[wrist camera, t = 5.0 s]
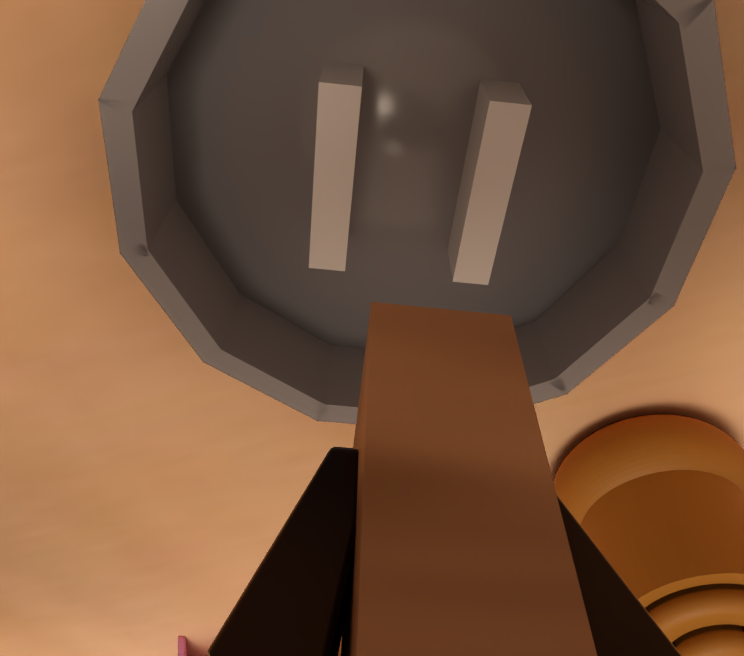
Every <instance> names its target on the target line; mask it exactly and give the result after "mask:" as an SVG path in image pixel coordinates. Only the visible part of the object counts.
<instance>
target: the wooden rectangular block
mask: <svg viewBox="0 0 744 656" xmlns="http://www.w3.org/2000/svg"><path fill="white" fill-rule="evenodd" d="M353 448H355V449H358V450H359V455H358V484H357V512H356V536H355V547H354V554H353V561H352V568H351V575H350V582H349V589H348V596H347V603H346V610H345V617H344V624H343V631H342V637H341V642H340V647H339V656H597V653H596V649H595V645H594V641H593V637H592V633H591V629H590V625H589V621H588V617H587V613H586V609H585V605H584V601H583V597H582V594H581V590H580V586H579V582H578V578H577V574H576V570H575V566H574V562H573V558H572V554H571V550H570V546H569V542H568V538H567V534H566V530H565V527H564V523H563V519H562V515H561V511H560V507H559V503H558V499H557V495H556V491H555V487H554V483H553V479H552V475H551V471H550V467H549V463H548V460H547V456H546V452H545V448H544V444H543V440H542V436H541V432H540V428H539V424H538V420H537V416H536V412H535V408H534V404H533V400H532V397H531V393H530V389H529V385H528V381H527V377H526V373H525V369H524V365H523V361H522V357H521V353H520V349H519V345H518V341H517V337H516V333H515V330H514V326H513V322H512V318H511V315H501V314H491V313H481V312H470V311H460V310H450V309H439V308H429V307H419V306H409V305H398V304H388V303H378V302H371V308H370V316H369V324H368V332H367V340H366V348H365V356H364V365H363V373H362V381H361V389H360V397H359V405H358V413H357V421H356V429H355V438H354V446H353Z"/></svg>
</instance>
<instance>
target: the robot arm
mask: <svg viewBox="0 0 744 656" xmlns="http://www.w3.org/2000/svg"><path fill="white" fill-rule="evenodd" d="M358 455H359V450H358V449H355V448H344V447H333V448H331V449H330V450H329V452H328V453H327V455H326V457H325V458H324V460H323V462H322V463H321V465H320V467H319V468H318V470H317V472H316V473H315V475H314V476H313V478H312V480H311V481H310V483H309V485H308V486H307V488H306V490H305V491H304V493H303V495H302V496H301V498H300V500H299V501H298V503H297V504H296V506H295V508H294V509H293V511H292V513H291V514H290V516H289V518H288V519H287V521H286V523H285V524H284V526H283V528H282V529H281V531H280V532H279V534H278V536H277V537H276V539H275V541H274V542H273V544H272V546H271V547H270V549H269V551H268V552H267V554H266V556H265V557H264V559H263V561H262V562H261V564H260V565H259V567H258V569H257V570H256V572H255V574H254V575H253V577H252V579H251V580H250V582H249V584H248V585H247V587H246V589H245V590H244V592H243V593H242V595H241V597H240V598H239V600H238V602H237V603H236V605H235V607H234V608H233V610H232V612H231V613H230V615H229V617H228V618H227V620H226V622H225V623H224V625H223V626H222V628H221V630H220V631H219V633H218V635H217V636H216V638H215V640H214V641H213V643H212V645H211V646H210V648H209V650H208V656H338V652H339V647H340V642H341V637H342V631H343V624H344V617H345V610H346V603H347V596H348V589H349V582H350V575H351V568H352V561H353V554H354V547H355V536H356V512H357V484H358ZM556 495H557V494H556ZM557 499H558V503H559V507H560V511H561V515H562V519H563V523H564V527H565V530H566V534H567V538H568V542H569V546H570V550H571V554H572V558H573V562H574V566H575V570H576V574H577V578H578V582H579V586H580V590H581V594H582V597H583V601H584V605H585V609H586V613H587V617H588V621H589V625H590V629H591V633H592V637H593V641H594V645H595V649H596V653H597V656H681V654H680V653H679V652H678V650H677V649H676V648H675V647H674V645H673V644H672V643H671V641H670V640H669V639H668V638H667V636H666V635H665V634H664V632H663V631H662V630H661V628H660V627H659V626H658V625H657V623H656V622H655V621H654V619H653V618H652V617H651V616H650V614H649V613H648V612H647V610H646V609H645V608H644V607H643V605H642V604H641V603H640V601H639V600H638V599H637V598H636V596H635V595H634V594H633V592H632V591H631V590H630V589H629V587H628V586H627V585H626V583H625V582H624V581H623V580H622V578H621V577H620V576H619V574H618V573H617V572H616V570H615V569H614V568H613V567H612V565H611V564H610V563H609V561H608V560H607V559H606V558H605V556H604V555H603V554H602V552H601V551H600V550H599V549H598V547H597V546H596V545H595V543H594V542H593V541H592V540H591V538H590V537H589V536H588V534H587V533H586V532H585V531H584V529H583V528H582V527H581V525H580V524H579V523H578V521H577V520H576V519H575V518H574V516H573V515H572V514H571V512H570V511H569V510H568V509H567V507H566V506H565V505H564V503H563V502H562V501H561V500H560V498H559V497H558V496H557Z"/></svg>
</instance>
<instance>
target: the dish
mask: <svg viewBox="0 0 744 656" xmlns="http://www.w3.org/2000/svg"><path fill="white" fill-rule="evenodd" d="M98 101H99V106H100V113H101V120H102V127H103V134H104V142H105V149H106V156H107V163H108V170H109V177H110V185H111V192H112V199H113V206H114V213H115V220H116V227H117V235H118V242H119V249H120V254H121V255H122V256H123V258H124V259H125V260H126V262H127V263H128V264H129V265H130V267H131V268H132V269H133V271H134V272H135V273H136V275H137V276H138V277H139V279H140V280H141V281H142V282H143V284H144V285H145V286H146V288H147V289H148V290H149V292H150V293H151V294H152V296H153V297H154V298H155V300H156V301H157V302H158V303H159V305H160V306H161V307H162V309H163V310H164V311H165V313H166V314H167V315H168V317H169V318H170V319H171V320H172V322H173V323H174V324H175V326H176V327H177V328H178V330H179V331H180V332H181V334H182V335H183V336H184V337H185V339H186V340H187V341H188V343H189V344H190V345H191V347H192V348H193V349H194V351H195V352H196V353H197V355H198V356H199V357H200V358H201V360H202V361H203V362H204V363H206V364H208V365H210V366H212V367H214V368H216V369H218V370H220V371H222V372H223V373H225V374H227V375H229V376H231V377H233V378H235V379H237V380H239V381H241V382H243V383H245V384H247V385H249V386H251V387H253V388H254V389H256V390H258V391H260V392H262V393H264V394H266V395H268V396H270V397H272V398H274V399H276V400H278V401H280V402H282V403H283V404H285V405H287V406H289V407H291V408H293V409H295V410H297V411H299V412H301V413H303V414H305V415H307V416H309V417H311V418H312V419H314V420H316V421H324V422H336V423H348V424H356V421H357V413H358V405H359V397H360V389H361V381H362V373H363V365H364V356H365V348H366V340H367V332H368V324H369V316H370V308H371V302H378V303H388V304H398V305H409V306H419V307H429V308H439V309H450V310H460V311H470V312H481V313H491V314H501V315H511V318H512V322H513V326H514V330H515V333H516V337H517V341H518V345H519V349H520V353H521V357H522V361H523V365H524V369H525V373H526V377H527V381H528V385H529V389H530V393H531V397H532V400H533V404H535V403H539V402H542V401H545V400H549V399H552V398H555V397H559V396H562V395H565V394H568V393H569V392H570V391H571V390H572V389H574V388H575V387H576V386H577V385H578V384H580V383H581V382H582V381H583V380H585V379H586V378H587V377H588V376H589V375H591V374H592V373H593V372H594V371H595V370H597V369H598V368H599V367H600V366H601V365H603V364H604V363H605V362H606V361H608V360H609V359H610V358H611V357H612V356H614V355H615V354H616V353H617V352H618V351H620V350H621V349H622V348H623V347H625V346H626V345H627V344H628V343H629V342H631V341H632V340H633V339H634V338H635V337H637V336H638V335H639V334H640V333H641V332H643V331H644V330H645V329H646V328H648V327H649V326H650V325H651V324H652V323H654V322H655V321H656V320H657V319H658V318H660V317H661V316H662V315H663V314H664V313H666V312H667V311H668V310H669V309H671V308H672V307H673V306H674V304H675V302H676V300H677V297H678V295H679V293H680V291H681V289H682V286H683V284H684V282H685V280H686V277H687V275H688V273H689V271H690V269H691V266H692V264H693V262H694V260H695V257H696V255H697V253H698V251H699V249H700V246H701V244H702V242H703V240H704V238H705V235H706V233H707V231H708V229H709V226H710V224H711V222H712V220H713V218H714V215H715V213H716V211H717V209H718V206H719V204H720V202H721V200H722V198H723V195H724V193H725V191H726V189H727V186H728V184H729V182H730V180H731V178H732V175H733V173H734V171H735V169H736V163H735V156H734V148H733V141H732V133H731V125H730V118H729V110H728V103H727V95H726V87H725V80H724V72H723V65H722V57H721V50H720V42H719V34H718V27H717V19H716V12H715V4H714V0H145V2H144V5H143V7H142V9H141V11H140V13H139V15H138V17H137V19H136V22H135V24H134V26H133V28H132V30H131V32H130V34H129V36H128V38H127V41H126V43H125V45H124V47H123V49H122V51H121V53H120V55H119V58H118V60H117V62H116V64H115V66H114V68H113V70H112V72H111V75H110V77H109V79H108V81H107V83H106V85H105V87H104V89H103V91H102V94H101V96H100V98H99V100H98Z"/></svg>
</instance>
